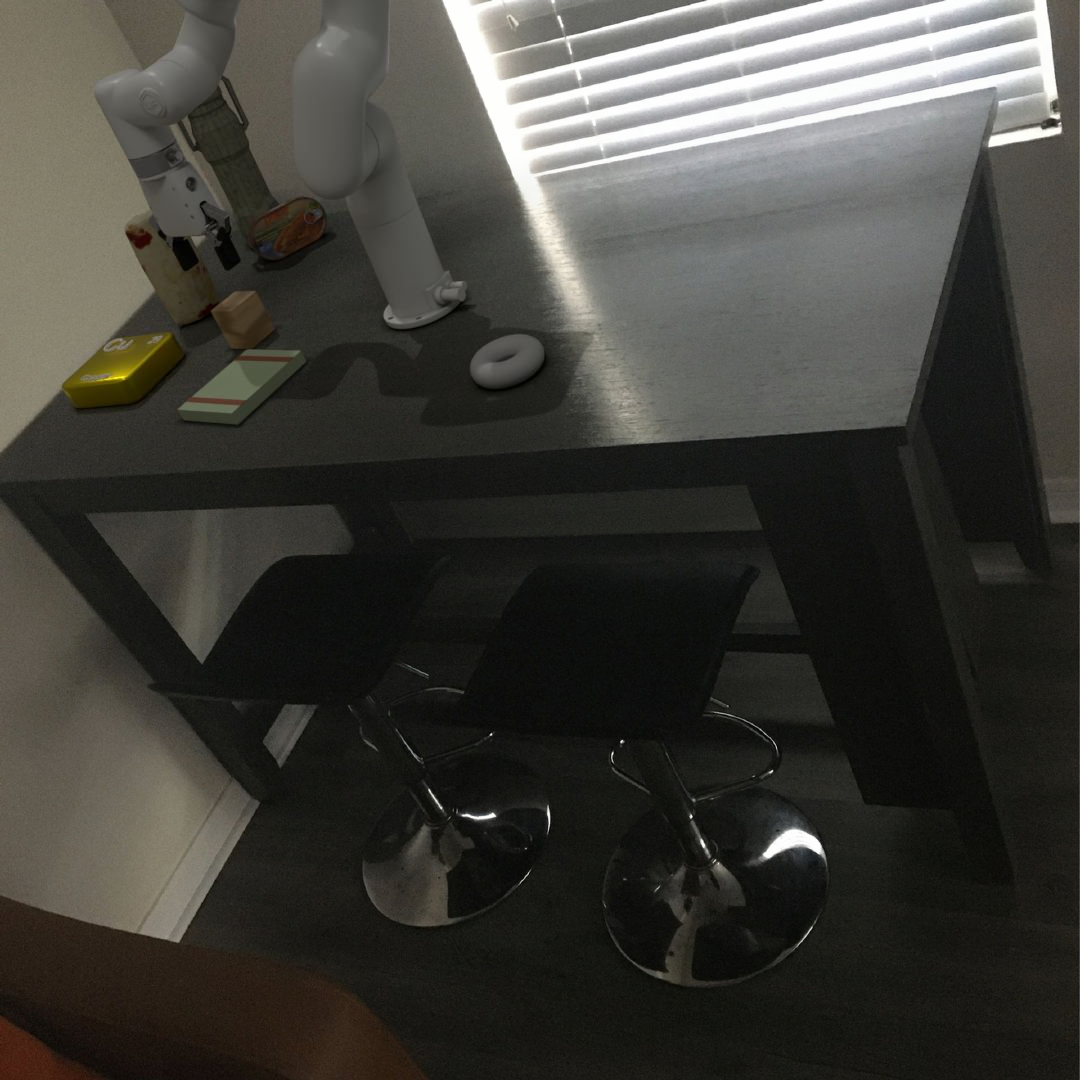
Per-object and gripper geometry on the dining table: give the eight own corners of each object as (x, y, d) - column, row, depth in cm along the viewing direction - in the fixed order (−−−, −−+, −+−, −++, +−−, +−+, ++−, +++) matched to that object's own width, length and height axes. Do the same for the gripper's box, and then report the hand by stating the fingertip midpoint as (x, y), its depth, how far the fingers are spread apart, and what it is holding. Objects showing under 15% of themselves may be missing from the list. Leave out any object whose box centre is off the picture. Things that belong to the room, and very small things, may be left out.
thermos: (303, 228, 210) (218, 45, 189) (249, 256, 207) (157, 73, 186) (289, 219, 217) (205, 42, 196) (237, 246, 214) (146, 68, 193)
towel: (306, 361, 162) (300, 349, 160) (238, 424, 152) (231, 412, 151) (252, 360, 168) (246, 348, 167) (183, 420, 159) (176, 409, 158)
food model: (183, 334, 186) (122, 227, 174) (171, 325, 191) (111, 221, 179) (232, 306, 189) (175, 199, 177) (219, 299, 194) (162, 194, 182)
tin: (264, 268, 199) (243, 226, 194) (259, 264, 202) (238, 222, 197) (334, 231, 203) (315, 189, 198) (329, 228, 205) (310, 186, 200)
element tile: (70, 410, 175) (53, 385, 172) (124, 359, 185) (109, 335, 182) (138, 404, 169) (121, 378, 166) (190, 352, 179) (175, 327, 176)
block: (275, 328, 175) (255, 290, 171) (251, 349, 172) (231, 310, 167) (254, 328, 178) (234, 291, 174) (231, 348, 174) (210, 311, 170)
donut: (463, 378, 143) (494, 403, 135) (454, 356, 141) (484, 380, 133) (527, 343, 145) (561, 366, 137) (519, 321, 143) (553, 342, 135)
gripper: (214, 145, 154) (266, 253, 165) (138, 153, 164) (192, 255, 174) (179, 168, 150) (234, 278, 160) (103, 175, 159) (160, 279, 170)
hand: (212, 266), depth 167 cm, fingers open, 9 cm apart
